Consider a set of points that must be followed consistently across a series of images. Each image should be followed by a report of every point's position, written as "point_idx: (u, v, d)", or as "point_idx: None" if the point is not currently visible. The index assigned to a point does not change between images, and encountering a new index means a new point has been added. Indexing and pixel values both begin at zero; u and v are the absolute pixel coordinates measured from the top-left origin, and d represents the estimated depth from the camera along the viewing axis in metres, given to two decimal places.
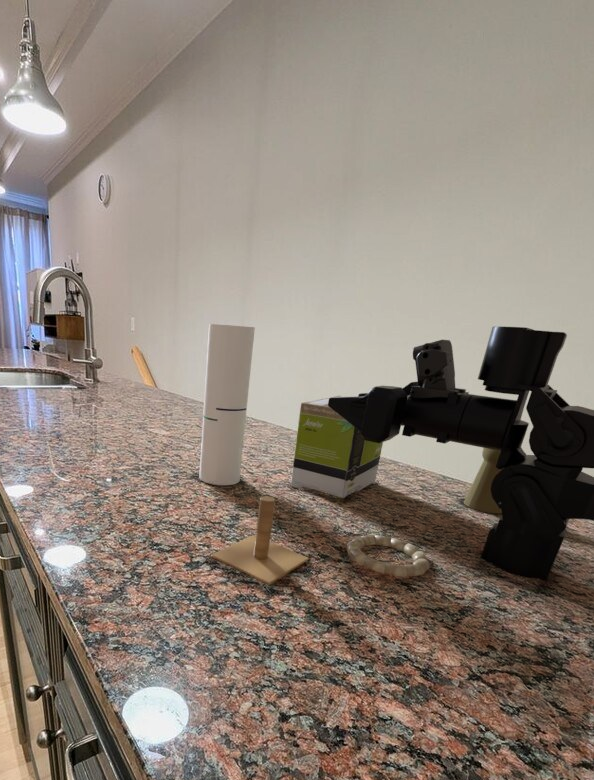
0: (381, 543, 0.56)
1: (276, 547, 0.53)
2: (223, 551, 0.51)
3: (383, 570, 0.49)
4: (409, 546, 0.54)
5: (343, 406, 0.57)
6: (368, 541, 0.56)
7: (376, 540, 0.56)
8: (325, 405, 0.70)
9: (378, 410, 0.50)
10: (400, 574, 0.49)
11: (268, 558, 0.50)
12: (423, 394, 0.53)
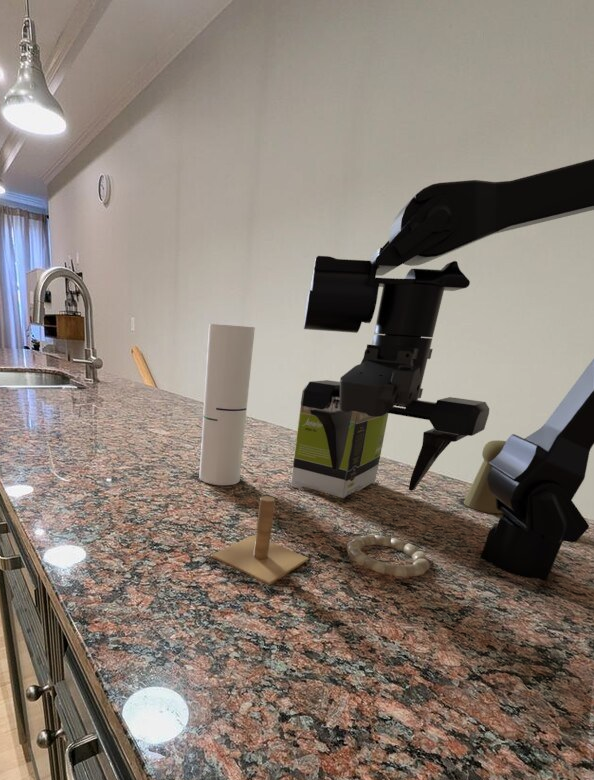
0: (381, 543, 0.56)
1: (276, 547, 0.53)
2: (223, 551, 0.51)
3: (383, 570, 0.49)
4: (409, 546, 0.54)
5: (424, 469, 0.48)
6: (368, 541, 0.56)
7: (376, 540, 0.56)
8: None
9: (480, 421, 0.43)
10: (400, 574, 0.49)
11: (268, 558, 0.50)
12: None
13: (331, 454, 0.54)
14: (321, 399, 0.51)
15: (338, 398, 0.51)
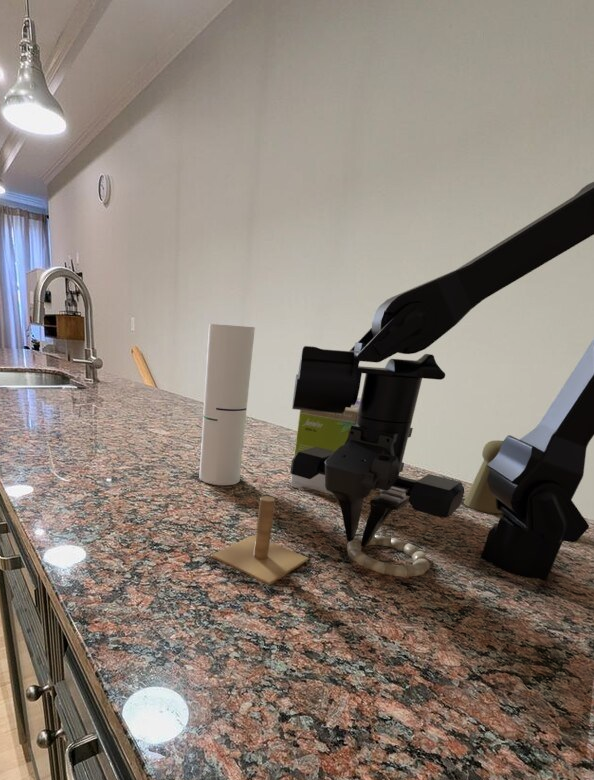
0: (381, 543, 0.56)
1: (276, 547, 0.53)
2: (223, 551, 0.51)
3: (383, 570, 0.49)
4: (409, 546, 0.54)
5: (374, 529, 0.54)
6: None
7: (376, 540, 0.56)
8: None
9: (455, 502, 0.46)
10: (400, 574, 0.49)
11: (268, 558, 0.50)
12: None
13: (346, 527, 0.55)
14: (309, 470, 0.54)
15: None
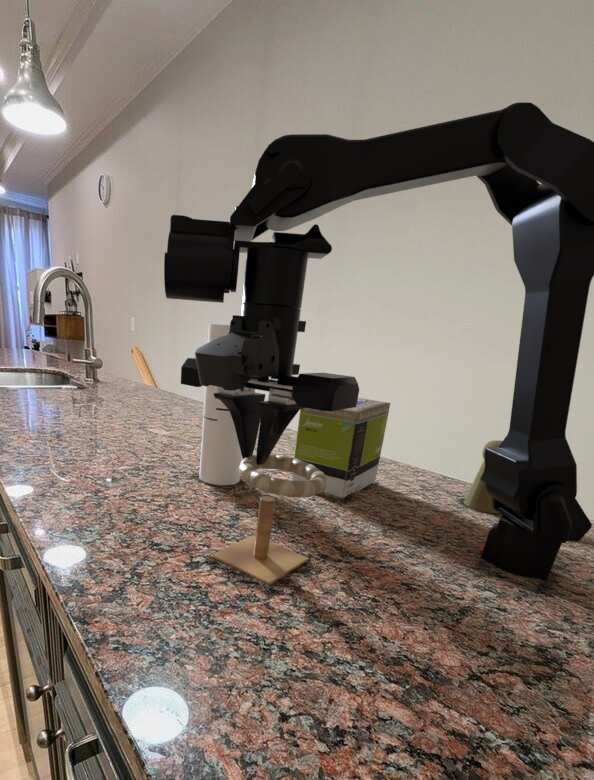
0: (282, 463, 0.50)
1: (276, 547, 0.53)
2: (223, 551, 0.51)
3: (268, 484, 0.43)
4: (310, 466, 0.48)
5: (270, 442, 0.47)
6: (267, 460, 0.49)
7: (276, 460, 0.50)
8: None
9: (343, 396, 0.40)
10: (286, 489, 0.43)
11: (268, 558, 0.50)
12: (276, 360, 0.42)
13: (240, 443, 0.49)
14: (196, 376, 0.48)
15: None
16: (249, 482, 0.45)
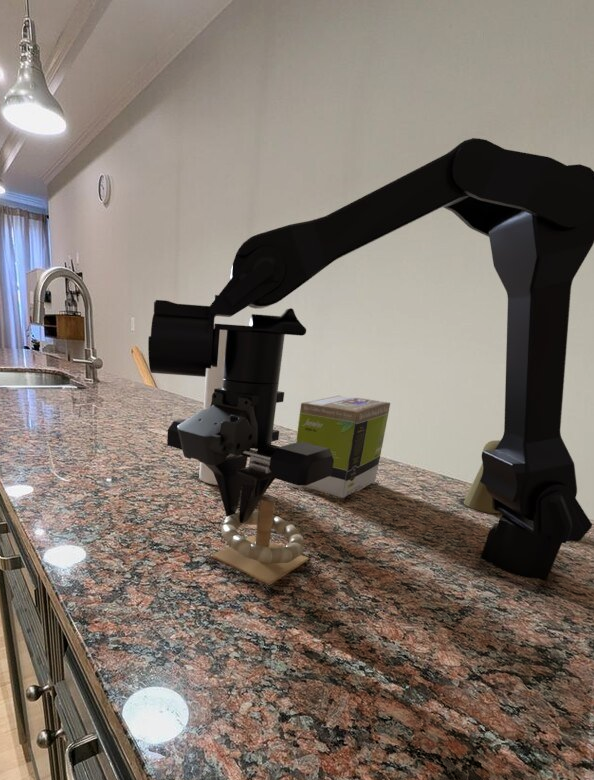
0: None
1: (276, 547, 0.53)
2: (223, 551, 0.51)
3: (248, 551, 0.46)
4: (290, 527, 0.51)
5: (252, 503, 0.50)
6: (250, 517, 0.52)
7: None
8: (325, 405, 0.70)
9: (317, 470, 0.42)
10: (265, 557, 0.46)
11: None
12: (255, 433, 0.44)
13: (223, 502, 0.51)
14: None
15: None
16: (230, 546, 0.47)
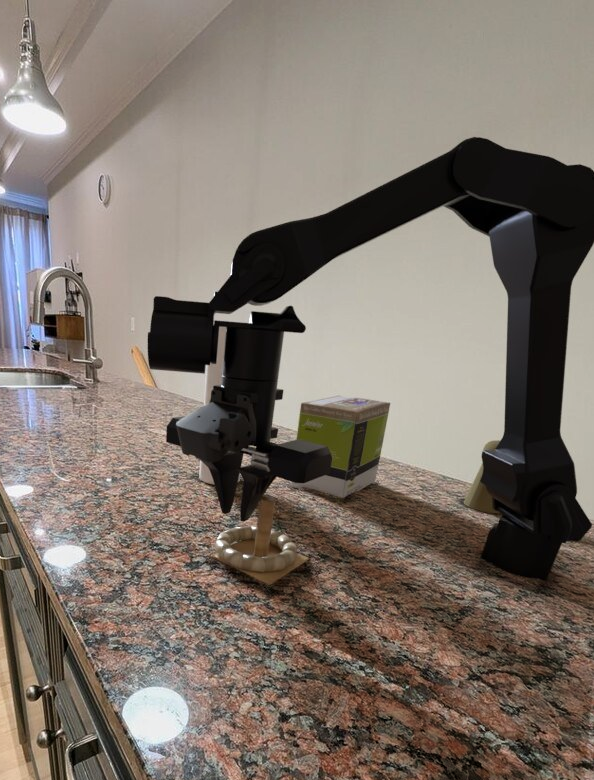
0: None
1: (276, 547, 0.53)
2: None
3: (241, 562, 0.47)
4: (282, 537, 0.52)
5: (253, 501, 0.50)
6: (242, 532, 0.53)
7: (251, 531, 0.54)
8: (325, 405, 0.70)
9: (315, 468, 0.42)
10: (258, 566, 0.46)
11: None
12: (253, 430, 0.44)
13: (219, 498, 0.51)
14: None
15: None
16: (224, 559, 0.48)
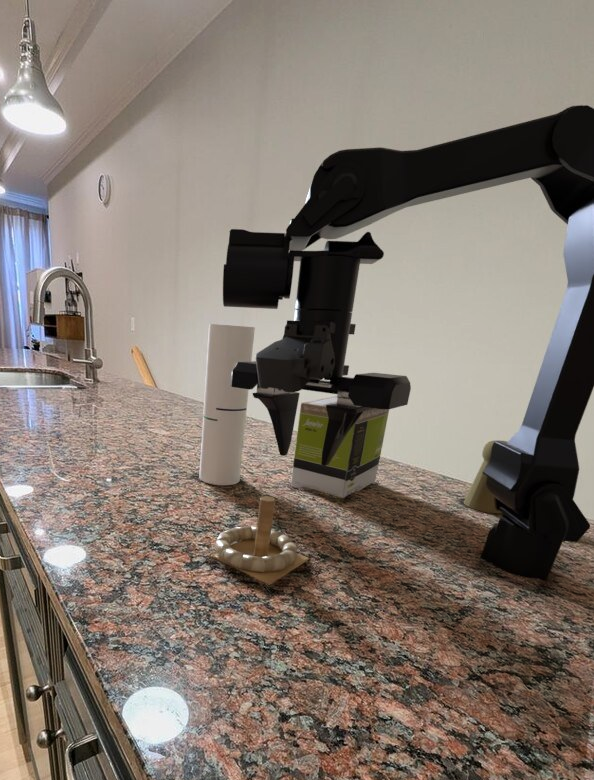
0: None
1: (276, 547, 0.53)
2: None
3: (241, 562, 0.47)
4: (282, 537, 0.52)
5: (335, 444, 0.48)
6: (242, 532, 0.53)
7: (251, 531, 0.54)
8: (325, 405, 0.70)
9: (398, 395, 0.42)
10: (258, 566, 0.46)
11: None
12: None
13: (277, 439, 0.52)
14: (248, 379, 0.50)
15: None
16: (224, 559, 0.48)
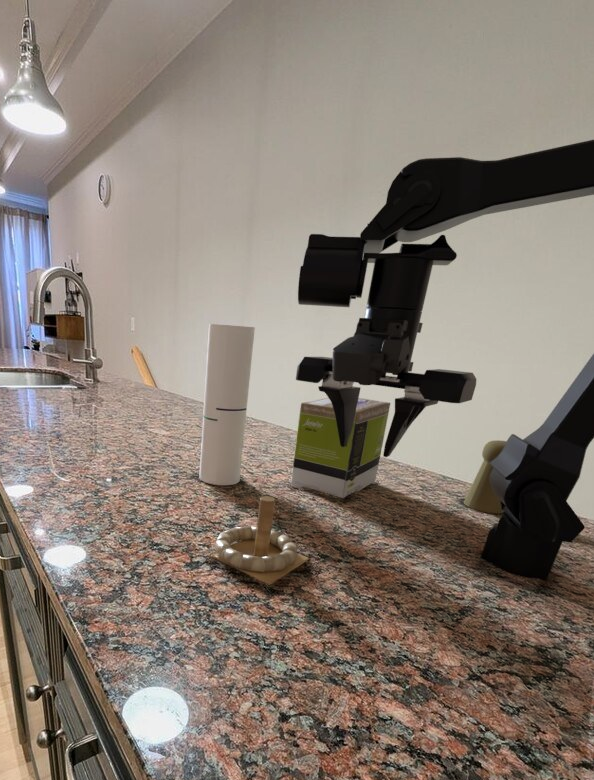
0: None
1: (276, 547, 0.53)
2: None
3: (241, 562, 0.47)
4: (282, 537, 0.52)
5: (398, 436, 0.51)
6: (242, 532, 0.53)
7: (251, 531, 0.54)
8: (325, 405, 0.70)
9: (467, 390, 0.45)
10: (258, 566, 0.46)
11: None
12: None
13: (339, 431, 0.54)
14: (315, 373, 0.52)
15: None
16: (224, 559, 0.48)
